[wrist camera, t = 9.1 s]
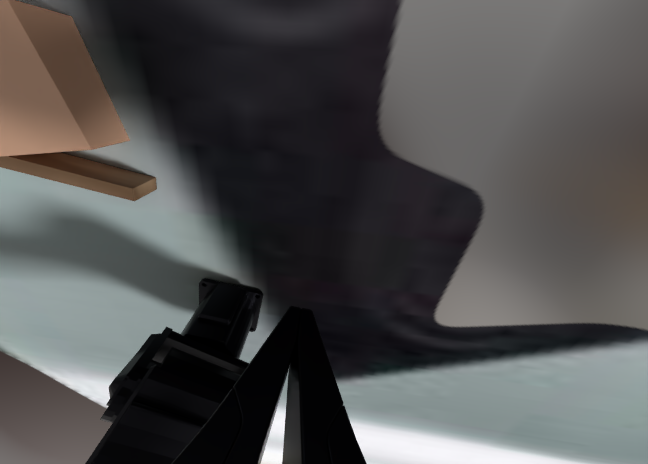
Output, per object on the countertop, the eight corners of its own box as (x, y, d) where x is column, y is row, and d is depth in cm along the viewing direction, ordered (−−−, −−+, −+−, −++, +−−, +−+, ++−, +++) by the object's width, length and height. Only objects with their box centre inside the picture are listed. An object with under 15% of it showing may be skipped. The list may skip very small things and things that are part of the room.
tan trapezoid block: (132, 139, 18) (91, 149, 15) (49, 146, 18) (-8, 157, 15) (76, 17, 14) (6, -3, 11) (-27, 30, 15) (-120, 14, 12)
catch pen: (156, 189, 19) (134, 201, 17) (-26, 141, 18) (-74, 148, 16) (119, -185, 10) (62, -258, 8) (-255, -340, 9) (-442, -477, 7)
